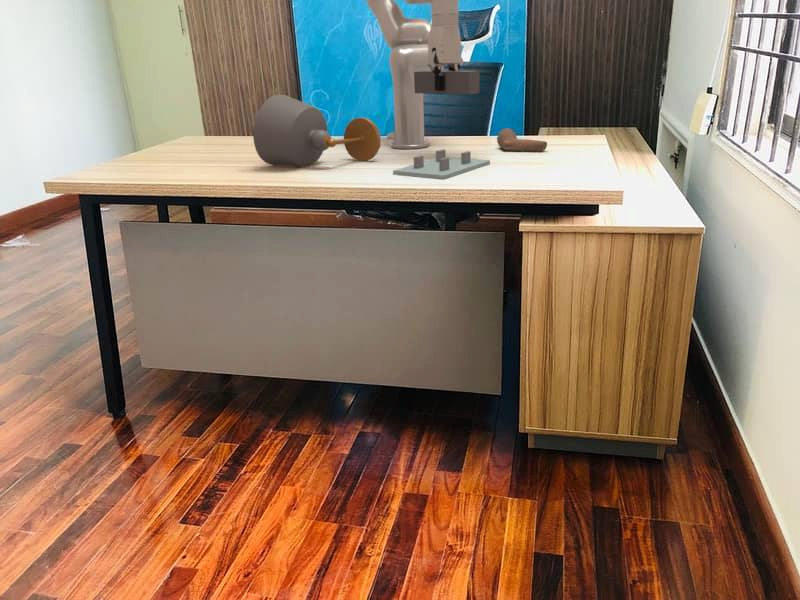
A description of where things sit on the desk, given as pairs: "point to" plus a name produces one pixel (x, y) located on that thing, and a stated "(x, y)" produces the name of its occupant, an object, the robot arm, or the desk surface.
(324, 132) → the light fixture
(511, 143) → the pipe
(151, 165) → the desk surface
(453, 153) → the desk surface
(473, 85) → the dark gray block
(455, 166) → the base
